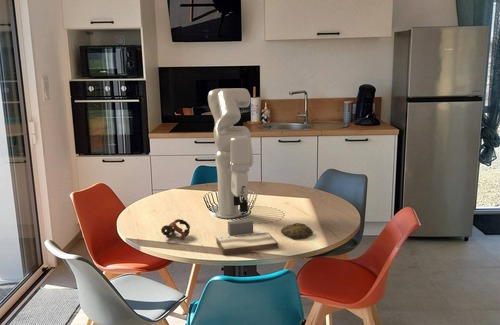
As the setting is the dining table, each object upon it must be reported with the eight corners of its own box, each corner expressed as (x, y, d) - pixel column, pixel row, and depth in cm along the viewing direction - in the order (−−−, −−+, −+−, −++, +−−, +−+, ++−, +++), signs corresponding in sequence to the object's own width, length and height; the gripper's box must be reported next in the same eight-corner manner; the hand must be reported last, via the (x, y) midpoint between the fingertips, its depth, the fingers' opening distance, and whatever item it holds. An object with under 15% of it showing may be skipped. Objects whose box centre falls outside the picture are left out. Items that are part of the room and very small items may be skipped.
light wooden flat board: (216, 243, 191) (216, 237, 190) (268, 237, 196) (268, 231, 196) (223, 254, 179) (223, 249, 179) (278, 248, 185) (278, 242, 185)
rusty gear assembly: (178, 231, 205) (186, 217, 202) (187, 247, 199) (195, 232, 196) (154, 231, 197) (162, 216, 194) (162, 247, 191) (171, 232, 188)
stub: (214, 237, 197) (214, 222, 195) (262, 231, 202) (262, 217, 201) (217, 242, 191) (217, 226, 190) (267, 236, 197) (267, 221, 195)
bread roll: (293, 242, 192) (293, 230, 191) (276, 232, 203) (277, 221, 201) (318, 236, 198) (319, 224, 197) (301, 227, 209) (301, 216, 207)
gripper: (225, 163, 197) (226, 203, 200) (236, 172, 181) (237, 215, 184) (243, 162, 199) (243, 202, 202) (255, 170, 183) (255, 213, 186)
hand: (240, 208), depth 193 cm, fingers open, 9 cm apart
